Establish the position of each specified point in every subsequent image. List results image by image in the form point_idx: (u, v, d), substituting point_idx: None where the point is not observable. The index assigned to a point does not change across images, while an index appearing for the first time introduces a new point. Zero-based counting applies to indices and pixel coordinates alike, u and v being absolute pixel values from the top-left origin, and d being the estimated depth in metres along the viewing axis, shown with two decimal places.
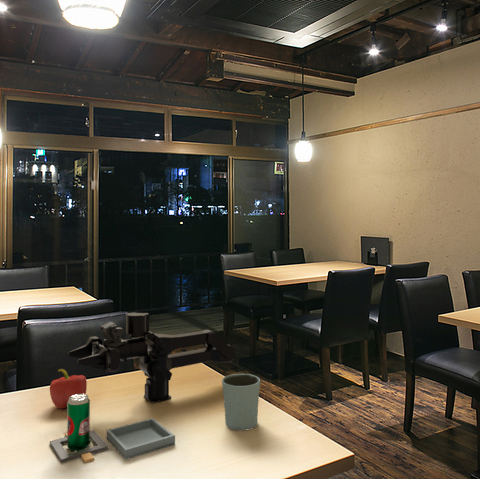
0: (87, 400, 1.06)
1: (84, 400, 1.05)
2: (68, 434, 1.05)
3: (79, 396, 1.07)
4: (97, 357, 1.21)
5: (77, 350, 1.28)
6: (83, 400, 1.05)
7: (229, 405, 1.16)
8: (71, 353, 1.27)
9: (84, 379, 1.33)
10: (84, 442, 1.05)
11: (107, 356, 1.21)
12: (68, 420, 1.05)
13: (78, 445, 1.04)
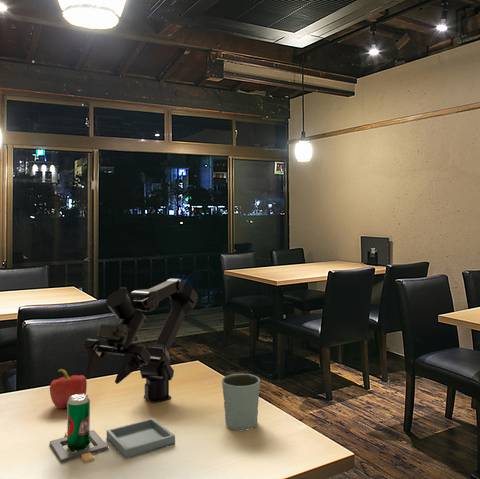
0: (87, 400, 1.06)
1: (84, 400, 1.05)
2: (68, 434, 1.05)
3: (79, 396, 1.07)
4: (127, 365, 1.14)
5: (90, 368, 1.17)
6: (83, 400, 1.05)
7: (229, 405, 1.16)
8: (88, 375, 1.16)
9: (84, 379, 1.33)
10: (84, 442, 1.05)
11: (137, 357, 1.15)
12: (68, 420, 1.05)
13: (78, 445, 1.04)
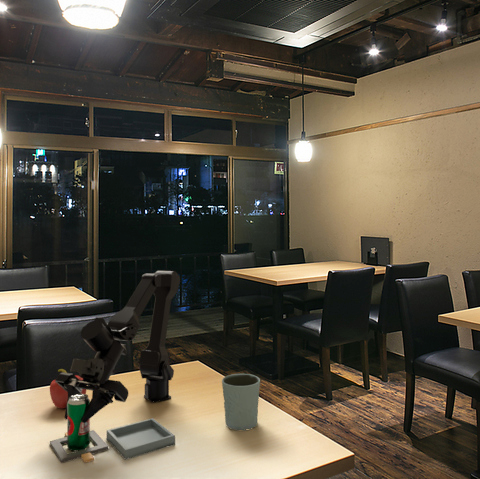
0: (87, 400, 1.06)
1: (84, 400, 1.05)
2: (68, 434, 1.05)
3: (79, 396, 1.07)
4: (96, 402, 1.06)
5: None
6: (83, 400, 1.05)
7: (229, 405, 1.16)
8: None
9: None
10: (84, 442, 1.05)
11: (106, 394, 1.07)
12: (68, 420, 1.05)
13: (78, 445, 1.04)
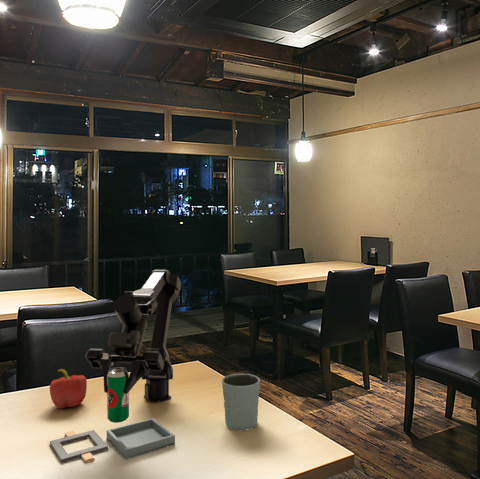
0: (127, 372, 1.08)
1: (125, 372, 1.07)
2: (110, 407, 1.06)
3: (117, 369, 1.08)
4: None
5: None
6: (124, 372, 1.06)
7: (229, 405, 1.16)
8: None
9: (84, 379, 1.33)
10: (126, 413, 1.07)
11: (145, 364, 1.09)
12: (110, 393, 1.05)
13: (121, 416, 1.06)
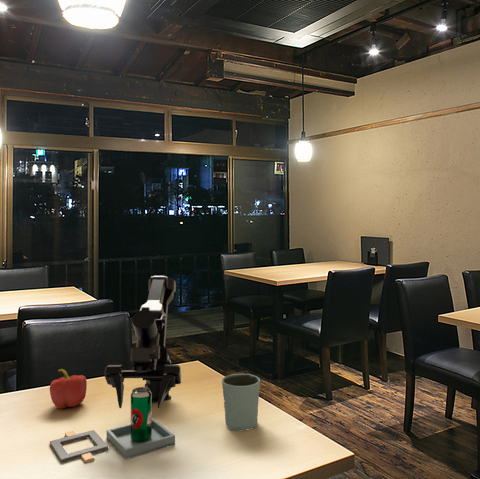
0: (150, 391, 1.10)
1: (149, 391, 1.09)
2: (135, 427, 1.07)
3: (141, 389, 1.10)
4: None
5: (121, 396, 1.09)
6: (149, 392, 1.09)
7: (229, 405, 1.16)
8: (121, 404, 1.08)
9: (84, 379, 1.33)
10: (150, 432, 1.09)
11: (174, 378, 1.12)
12: (135, 413, 1.07)
13: (146, 435, 1.08)
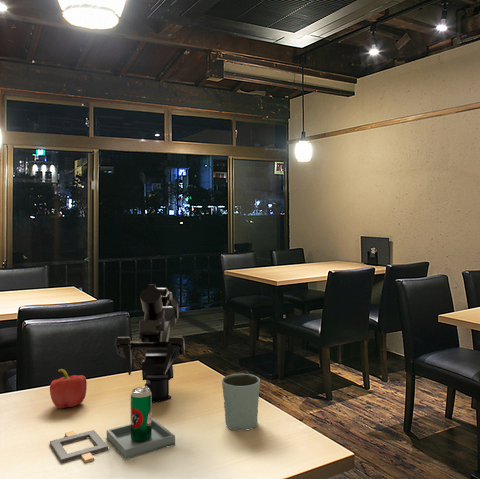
0: (150, 391, 1.10)
1: (149, 391, 1.09)
2: (135, 427, 1.07)
3: (141, 389, 1.10)
4: None
5: (130, 364, 1.20)
6: (149, 392, 1.09)
7: (229, 405, 1.16)
8: (130, 371, 1.19)
9: (84, 379, 1.33)
10: (150, 432, 1.09)
11: (178, 348, 1.23)
12: (135, 413, 1.07)
13: (146, 435, 1.08)
